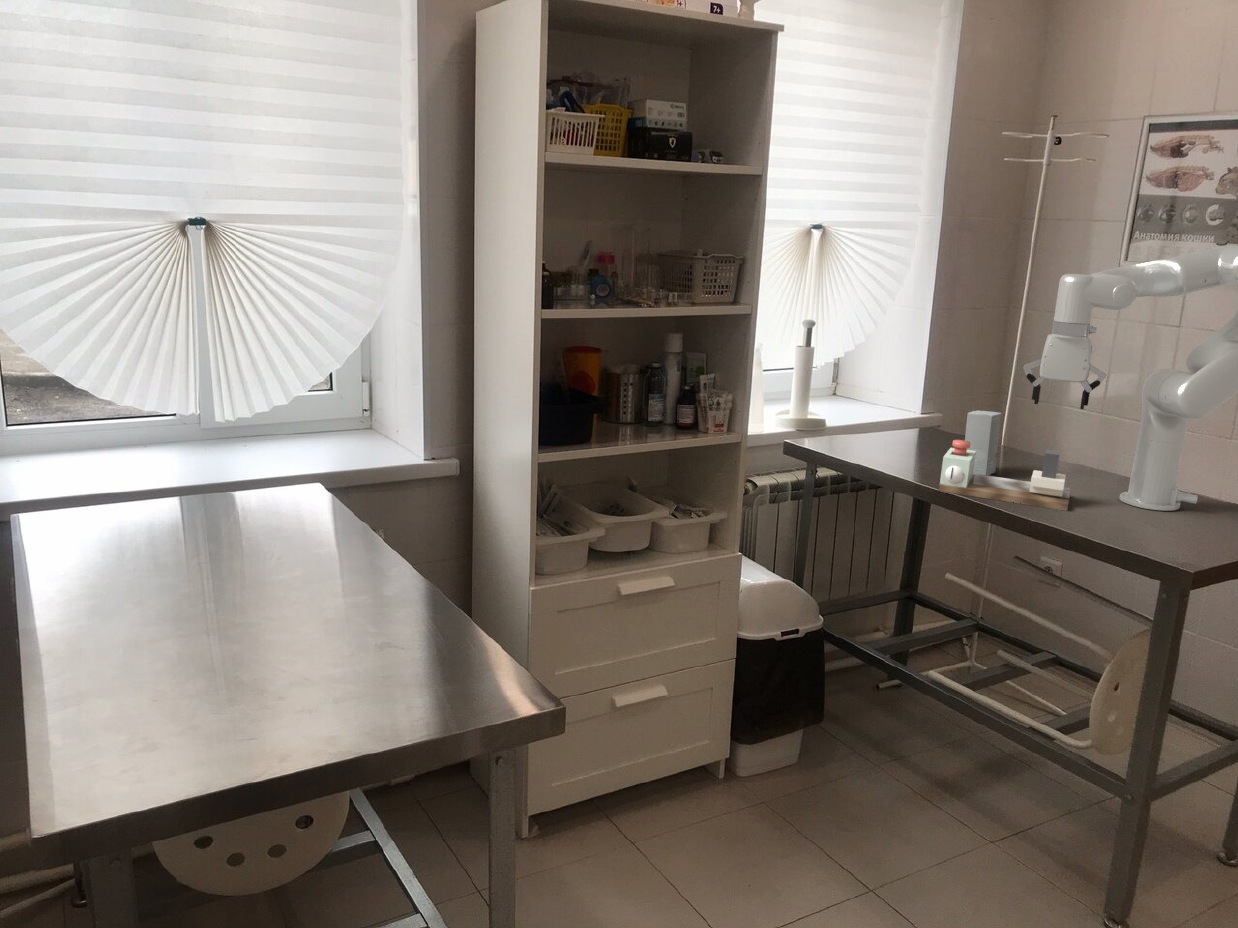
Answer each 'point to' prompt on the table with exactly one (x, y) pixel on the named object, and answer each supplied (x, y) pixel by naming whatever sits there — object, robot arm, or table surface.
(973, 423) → the skincare box
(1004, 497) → the walnut rail board
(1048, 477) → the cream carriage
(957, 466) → the sage gauge cabinet
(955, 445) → the red reset button
